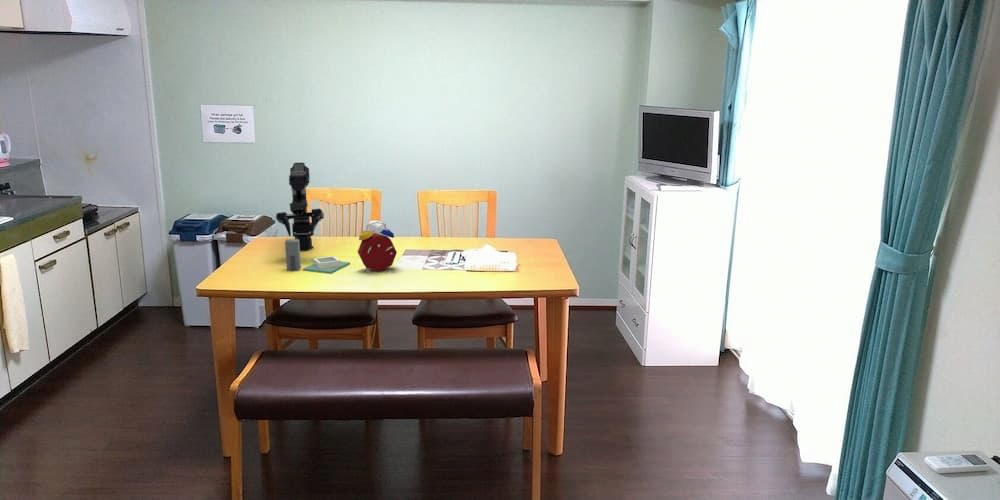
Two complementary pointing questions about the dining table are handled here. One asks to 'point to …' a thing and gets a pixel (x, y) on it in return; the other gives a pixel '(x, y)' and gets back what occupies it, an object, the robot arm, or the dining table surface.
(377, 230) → the photo printer
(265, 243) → the dining table surface
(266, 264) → the dining table surface
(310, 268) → the header board
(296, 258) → the grey rectangular block
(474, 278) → the dining table surface
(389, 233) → the alarm clock
